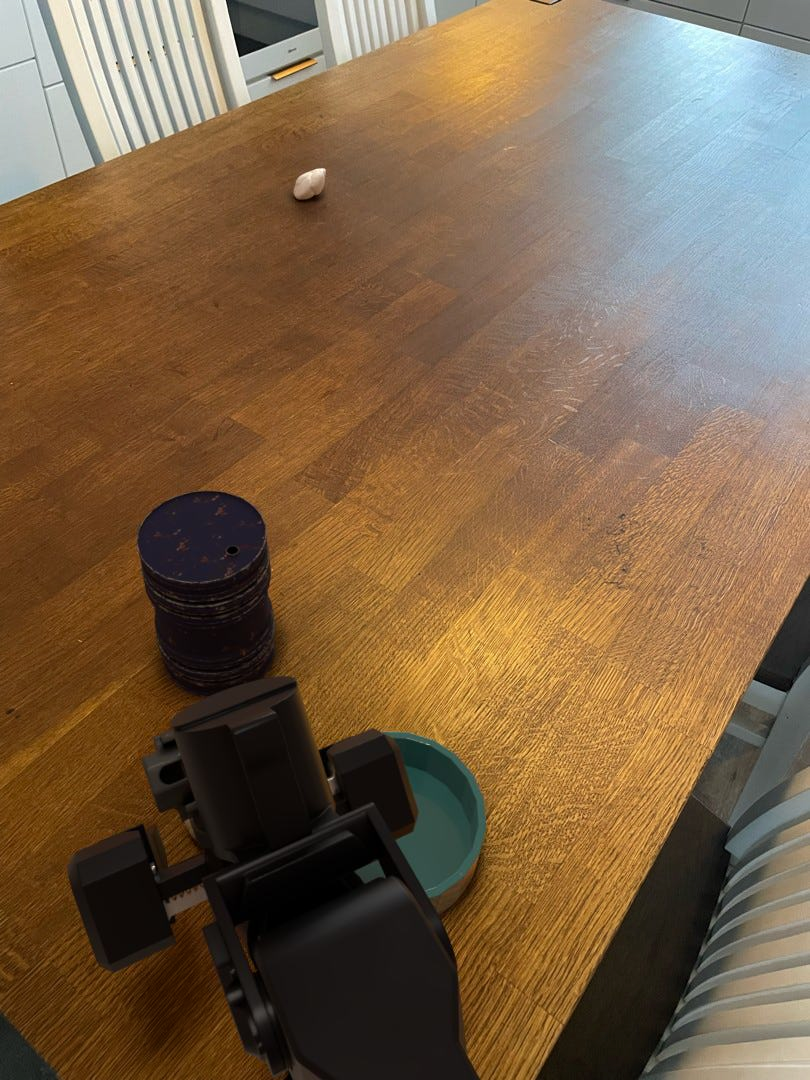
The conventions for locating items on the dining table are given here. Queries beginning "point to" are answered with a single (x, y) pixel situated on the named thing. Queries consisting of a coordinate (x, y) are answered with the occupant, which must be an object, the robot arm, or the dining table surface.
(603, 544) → the dining table surface
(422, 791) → the pan
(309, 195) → the dumpling
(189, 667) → the dark blue cylinder
